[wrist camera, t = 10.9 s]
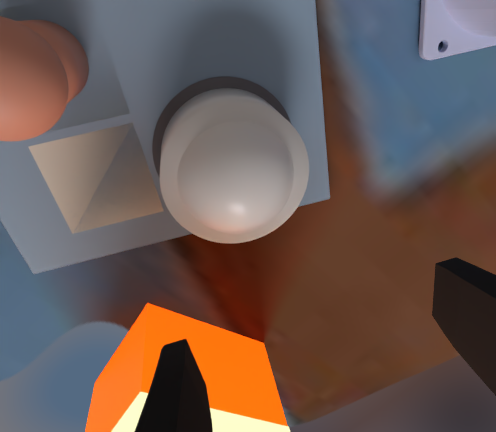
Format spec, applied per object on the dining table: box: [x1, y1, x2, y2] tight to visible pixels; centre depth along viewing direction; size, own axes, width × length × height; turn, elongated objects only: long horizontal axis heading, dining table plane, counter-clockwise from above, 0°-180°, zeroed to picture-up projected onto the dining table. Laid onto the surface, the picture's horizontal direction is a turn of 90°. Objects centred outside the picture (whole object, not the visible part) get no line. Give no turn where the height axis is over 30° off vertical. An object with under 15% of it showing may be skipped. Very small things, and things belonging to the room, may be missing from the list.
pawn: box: [0, 16, 89, 141], centre depth 12 cm, size 3×3×6 cm
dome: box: [160, 88, 309, 243], centre depth 15 cm, size 6×6×5 cm
